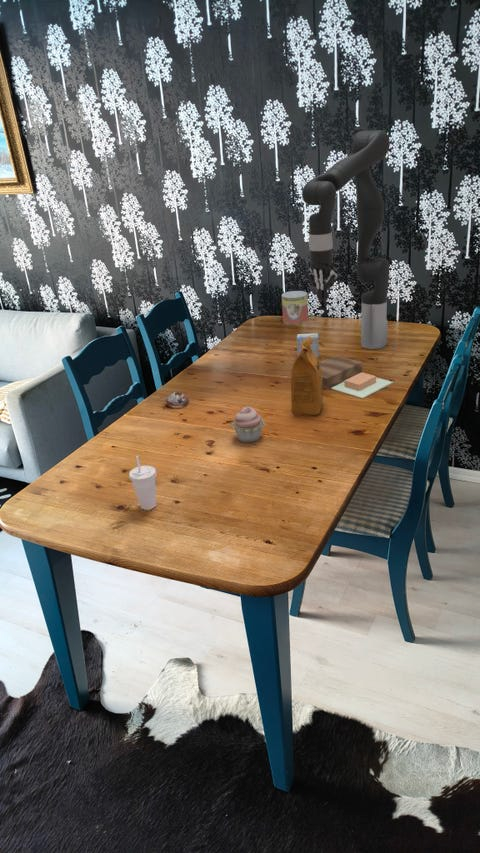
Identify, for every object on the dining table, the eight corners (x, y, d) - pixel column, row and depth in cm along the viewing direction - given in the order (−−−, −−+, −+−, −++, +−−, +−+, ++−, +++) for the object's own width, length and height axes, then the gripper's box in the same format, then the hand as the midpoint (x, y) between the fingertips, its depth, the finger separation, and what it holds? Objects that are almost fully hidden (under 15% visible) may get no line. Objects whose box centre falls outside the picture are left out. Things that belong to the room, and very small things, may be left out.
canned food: (281, 325, 272) (280, 298, 267) (284, 317, 282) (282, 291, 277) (307, 324, 270) (306, 297, 265) (309, 316, 280) (308, 290, 275)
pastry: (184, 409, 200) (182, 395, 198) (162, 409, 202) (160, 395, 200) (192, 399, 207) (190, 385, 205) (171, 399, 209) (169, 385, 207)
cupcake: (242, 449, 173) (239, 416, 168) (227, 436, 180) (224, 405, 176) (271, 439, 176) (269, 407, 172) (255, 427, 184) (253, 397, 180)
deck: (335, 365, 223) (335, 355, 222) (362, 373, 215) (362, 362, 213) (301, 381, 213) (300, 370, 211) (327, 389, 205) (327, 378, 203)
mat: (361, 374, 214) (361, 373, 214) (392, 383, 205) (392, 381, 205) (330, 389, 205) (330, 387, 205) (362, 398, 196) (362, 397, 196)
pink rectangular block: (376, 376, 205) (376, 382, 206) (361, 372, 209) (361, 378, 210) (359, 384, 200) (359, 391, 201) (344, 380, 204) (344, 386, 205)
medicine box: (318, 354, 235) (318, 332, 231) (318, 358, 231) (318, 336, 227) (297, 355, 236) (296, 333, 232) (297, 359, 232) (296, 337, 228)
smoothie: (136, 500, 153) (126, 451, 147) (162, 497, 154) (153, 448, 147) (134, 515, 148) (124, 464, 141) (161, 512, 148) (152, 461, 142)
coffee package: (327, 401, 196) (326, 335, 187) (320, 418, 186) (318, 349, 176) (297, 399, 199) (294, 334, 190) (287, 416, 189) (284, 348, 179)
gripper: (344, 246, 197) (345, 300, 205) (313, 243, 206) (315, 294, 214) (329, 251, 193) (330, 305, 201) (297, 248, 202) (300, 300, 210)
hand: (322, 300), depth 207 cm, fingers closed
